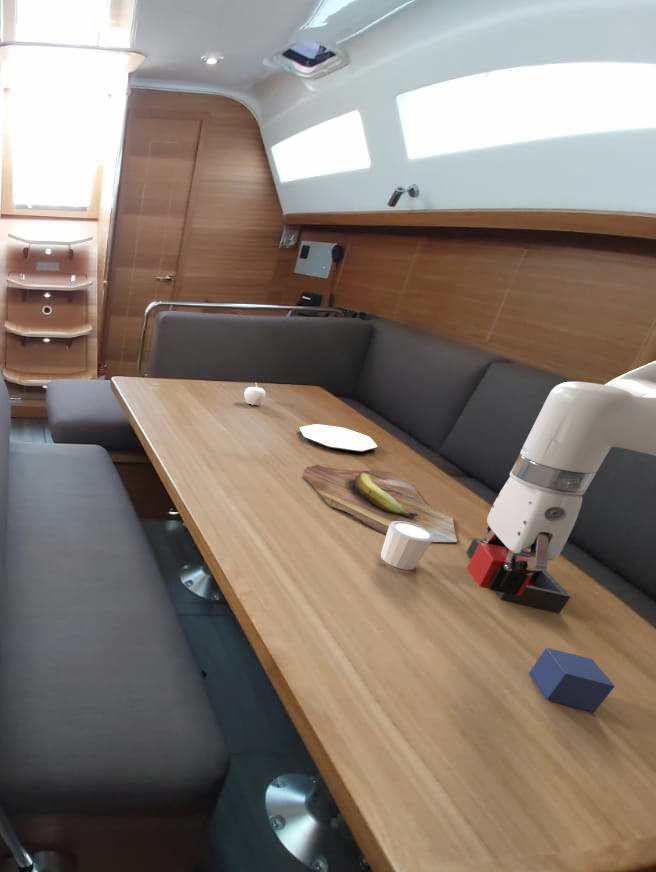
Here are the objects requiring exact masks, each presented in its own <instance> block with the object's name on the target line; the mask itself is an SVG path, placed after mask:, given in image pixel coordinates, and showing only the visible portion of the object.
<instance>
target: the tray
mask: <svg viewBox="0 0 656 872" xmlns="http://www.w3.org/2000/svg"><path fill="white" fill-rule="evenodd" d="M483 540H484V538H483V539H482V538H477V537H474V538H473V539H472V541H471V543H470V544H469V547H468V549H467V551H466V553H467V555H468V556H469V558H470V560H471V559H472V557H473V555H474V553H475V551H476V549H477V547H478V545H479V543H480V542H482V543H483ZM522 551H526V552H530V551H529V549H528V548H526V549H525V548H523V549H522ZM494 592H495V594H496V595H497V596H498V598H499V600H502V601H506V602H509V603H514V604H519V605H524V606H529V607H532V608H538V609H540V610H541V609H542V610H546V611H549V612H553V613H554V612H555V613H561V612H562V610H563V609H564V607H565V606H566V605H567V603H568V601H569V600H570V599H571V595H570V594H569V593H568V592H567V591H566V590H565V589H564V588H563V587H562V586H561V585H560V583H559V582H558V581H557V580H556V579H555V578H554V577H553V576H552V575H551V574H550V573H549V572H548V571H547V569H546V570H543V571H536V572H534V574H533V575H532V577H531V579H530V581H529V582H528V584H527V586H526V588H525V589H524V591H523V593H522V595H511V594H507V593H502V592H497V591H494Z"/></svg>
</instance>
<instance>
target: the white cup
mask: <svg viewBox="0 0 656 872" xmlns="http://www.w3.org/2000/svg"><path fill="white" fill-rule="evenodd" d="M433 539H434V536H433V534H432V533H430V532H429V531H428V530H426V529H424V528H423V527H420V526H418V525H415V524H412V523H408V522H402V521H394V522H391V523H390V525H389V528H388V531H387V535H385V538H384V542H383V546H382V549H381V552H380V558H381V560H382V561H384V562H385V563H387V564H388V565H389V566H392V567H395V568H396V569H400V570H407V571H411V570H415V569H416V567H417V566H418V565H419V563H420V561H421V560H422V558H423V556H424V555H425V553H426V552H427V550H428V549H429V547H430V546H431V544H432V543H433V542H432V541H433Z"/></svg>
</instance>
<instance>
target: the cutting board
mask: <svg viewBox="0 0 656 872" xmlns="http://www.w3.org/2000/svg"><path fill="white" fill-rule="evenodd" d="M302 478H304V479H305V480H306V481H307V482H308V483H310V485H311V486H312V487H313V488H314V489H315V490H316V492H317V493H318V494H319V495H320V496H321V498H322V499H323V500H324V501H325V503H327V505H328V506H330V507H332V508H333V509H334V508H335V509H338V510H340V511H343V512H344V513H345V512H346V513H347V514H350V515H351V516H352V517H353V518H354V519H356V520H358V521H361V522H362V523H363V524H364V525H366V526H368V527H370V528H373V529H374V530H376V531H378V532H379V533H381V534H383V535H385V536H386V535H387V531H388V528H389V525H390V523H391V522H394V521H402V522H408V523H412V524H415V525H418V526H420V527H423V528H424V529H426V530H428V531H429V532H430V533H432V534H433V536H434V539H433V541H432V542H431V543H458V539H457V535H456V530H455V525H454V518H453V517H452V516H451V515H449V514H447V513H444V512H442V511H440V510H438V509H436V508H433V507H432V506H430V505H429V504H428V503H426V501H424V499H423V498H422V496H421V495H420V493H418V491H417V489H416V488H415V486H414V484H412V483H411V482H409V481H407V480H406V479H405V478H403V477H401V476H399V475H397V474H395V473H393V472H389V471H386V470H379V469H371V470H355V469H354V470H352V469H339V468H332V467H327V466H326V467H325V466H322V465H318V464H315V465H314V466H306V468H305V471H304V473H303V476H302Z"/></svg>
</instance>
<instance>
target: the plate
mask: <svg viewBox="0 0 656 872" xmlns="http://www.w3.org/2000/svg"><path fill="white" fill-rule="evenodd" d="M298 429H299V431H300V433H301V435H302V437H303V438H304V439H306V440H309V441H310V442H314V443H316V444H319V445H321V446H323V447H327V448H330V449H337V450H341V451H349V452H357V453H363V452H367V451H371V450H375V449H377V448H378V444H377V443H376V442H375V441H374V440H373V439H372V438H371V437H370V436H369V435H366V434H363V433H360V432H357V431H354V430H352V429H349V428H346V427H342V426H334V425H327V424H320V423H313V424H309V425H304V426H300V427H299V428H298Z"/></svg>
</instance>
